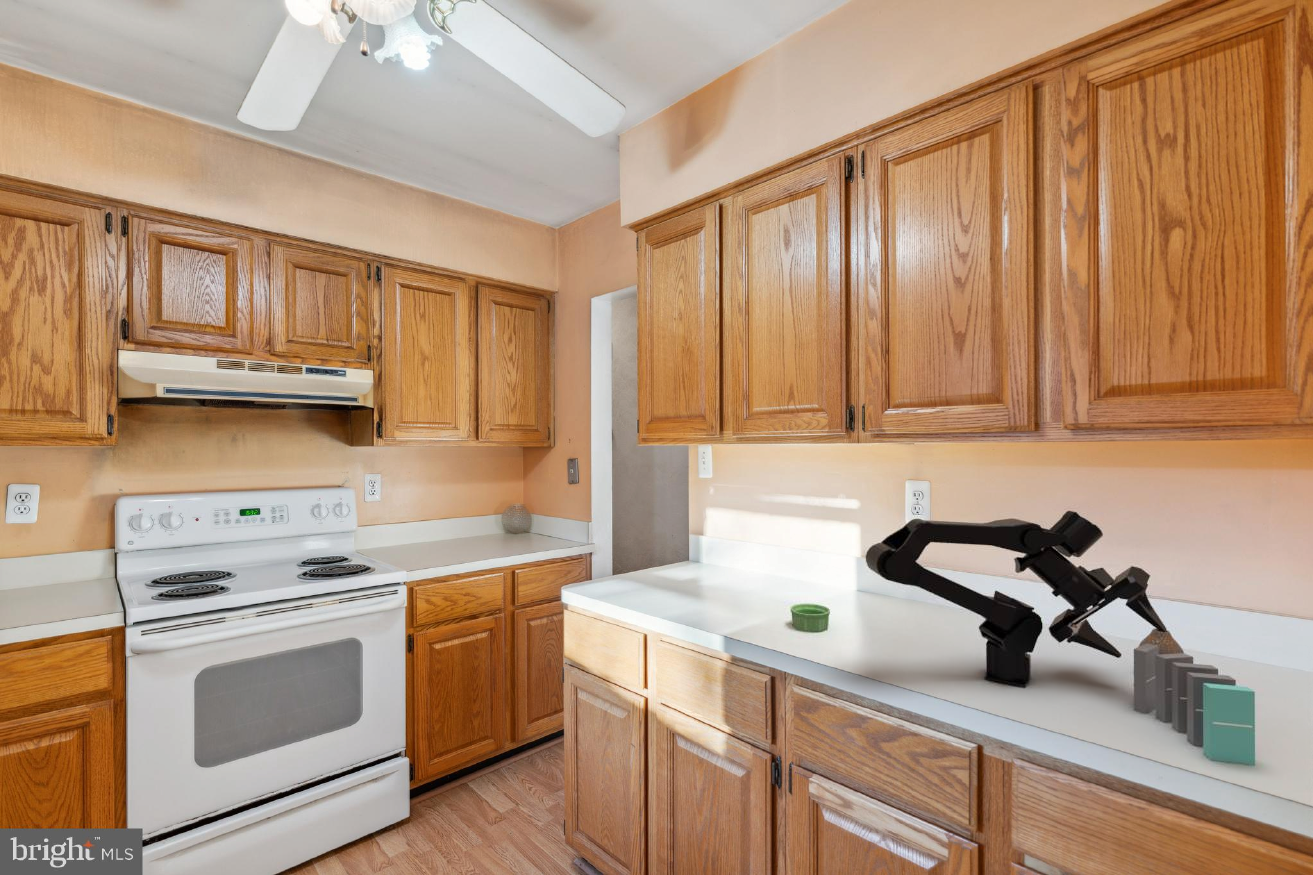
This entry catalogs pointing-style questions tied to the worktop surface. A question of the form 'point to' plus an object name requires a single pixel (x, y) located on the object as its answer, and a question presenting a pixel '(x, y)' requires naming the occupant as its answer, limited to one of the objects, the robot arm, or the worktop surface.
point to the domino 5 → (1229, 723)
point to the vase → (1162, 642)
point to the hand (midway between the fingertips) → (1142, 644)
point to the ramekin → (810, 617)
